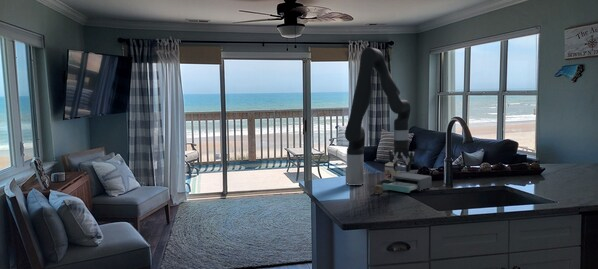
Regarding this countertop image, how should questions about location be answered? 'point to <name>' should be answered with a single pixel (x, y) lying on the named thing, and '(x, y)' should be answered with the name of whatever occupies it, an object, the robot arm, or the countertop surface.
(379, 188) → the pedestal
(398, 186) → the tray
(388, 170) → the teacup with lid
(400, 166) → the disc
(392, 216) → the countertop surface
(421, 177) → the player housing
